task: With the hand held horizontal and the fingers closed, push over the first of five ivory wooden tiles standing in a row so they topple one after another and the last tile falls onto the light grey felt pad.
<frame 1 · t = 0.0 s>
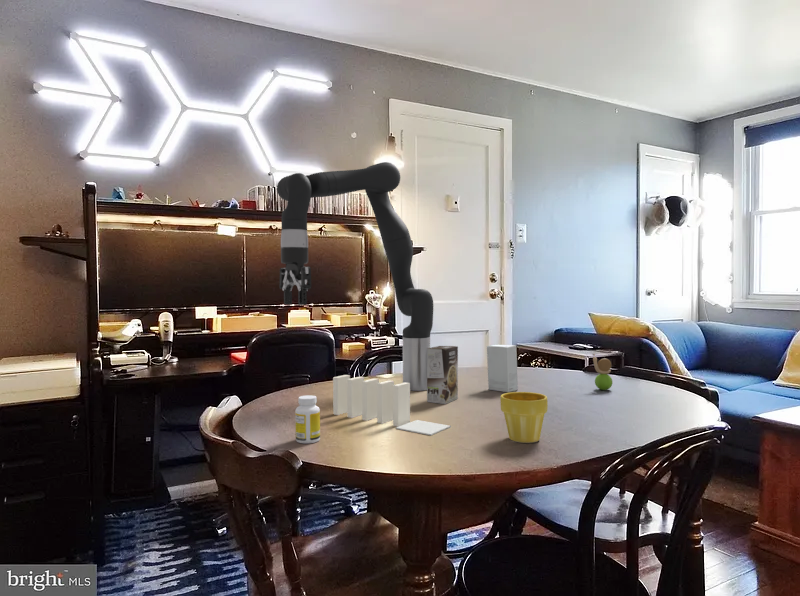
hand: (295, 304, 151), 29 cm above the table, tool pointing down, fingers open, 8 cm apart
snail figurine: (602, 390, 177), on the table
supplement bottle: (307, 441, 121), on the table
domino 5: (401, 424, 135), on the table
domino 4: (385, 421, 138), on the table
felt pad: (423, 427, 131), on the table
skincare box: (502, 390, 178), on the table
plant pot: (523, 439, 121), on the table
domino 3: (370, 418, 141), on the table
coffee box: (442, 401, 162), on the table
domino 2: (355, 415, 144), on the table
domino 1: (341, 413, 146), on the table
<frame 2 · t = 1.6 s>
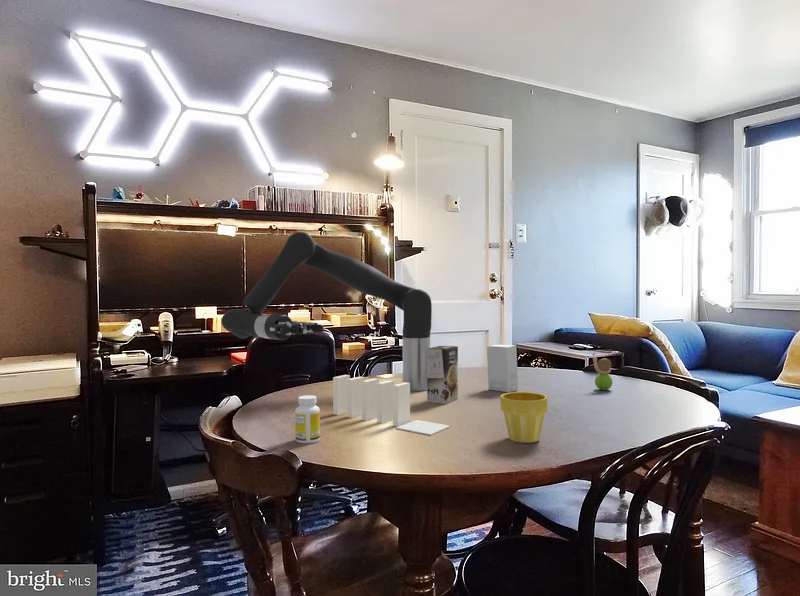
hand: (312, 329, 152), 22 cm above the table, tool horizontal, fingers open, 7 cm apart
nothing on the table moved.
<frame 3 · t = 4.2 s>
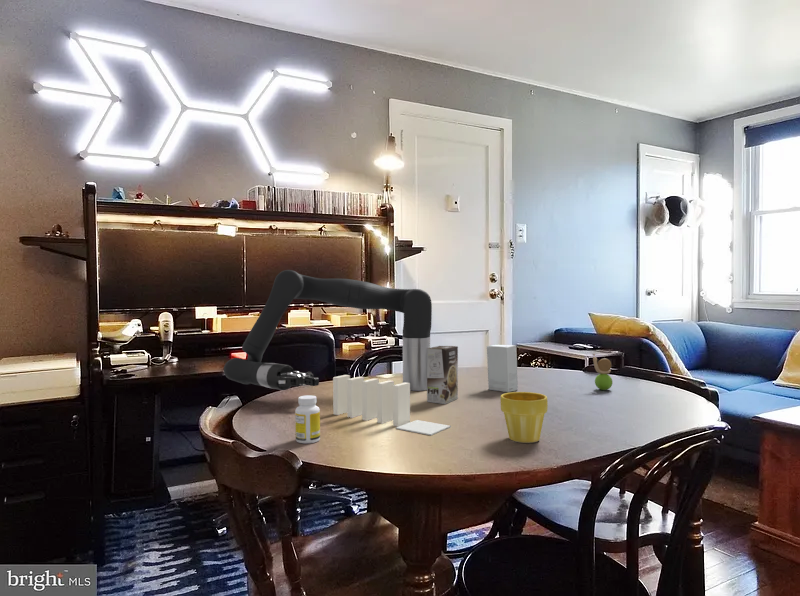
hand: (317, 382, 152), 7 cm above the table, tool horizontal, fingers closed
nothing on the table moved.
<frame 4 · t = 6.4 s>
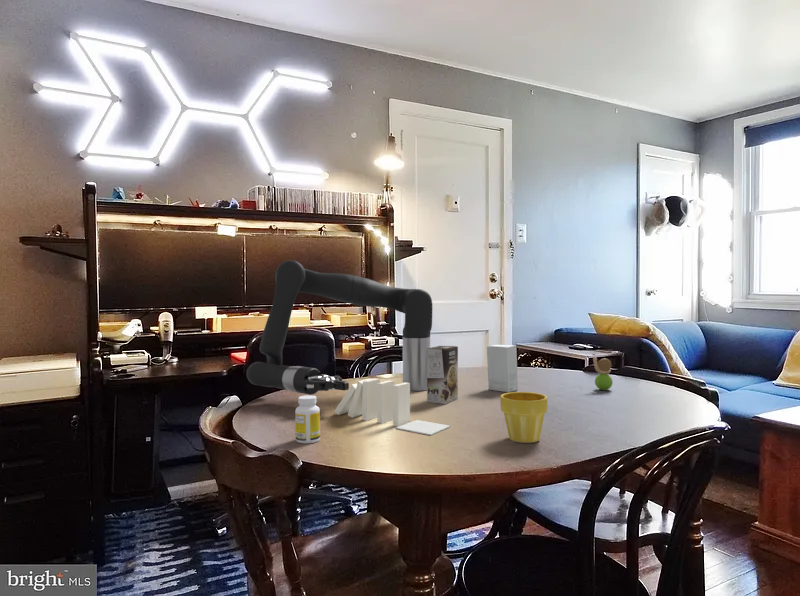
hand: (347, 386, 145), 7 cm above the table, tool horizontal, fingers closed
domino 2: (356, 414, 144), on the table, tilted 22°, touching domino 1
domino 1: (342, 411, 146), point 1 cm above the table, tilted 39°, touching domino 2
everything else where it was.
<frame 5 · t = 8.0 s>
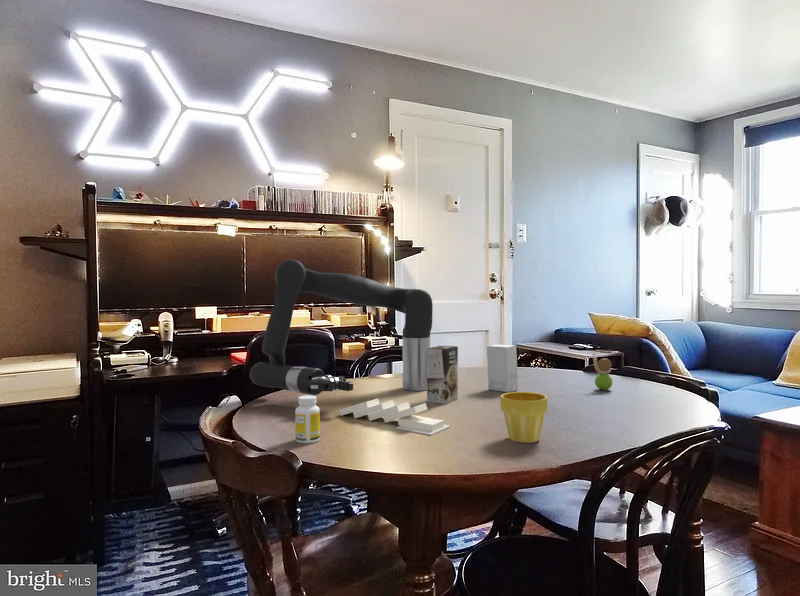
hand: (351, 386, 144), 8 cm above the table, tool horizontal, fingers closed
domino 5: (404, 419, 134), point 1 cm above the table, tilted 90°, touching domino 4, felt pad
domino 4: (390, 417, 137), point 1 cm above the table, tilted 68°, touching domino 3, domino 5
domino 3: (374, 416, 140), point 1 cm above the table, tilted 68°, touching domino 2, domino 4
domino 2: (360, 413, 143), point 1 cm above the table, tilted 69°, touching domino 1, domino 3
domino 1: (345, 411, 146), point 1 cm above the table, tilted 70°, touching domino 2
everything else where it was.
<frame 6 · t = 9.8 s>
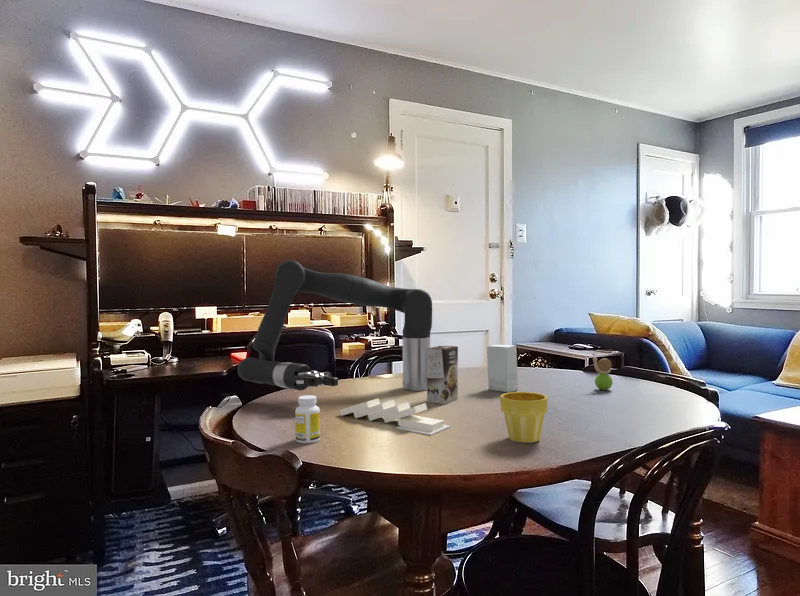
hand: (336, 382, 147), 8 cm above the table, tool horizontal, fingers closed
nothing on the table moved.
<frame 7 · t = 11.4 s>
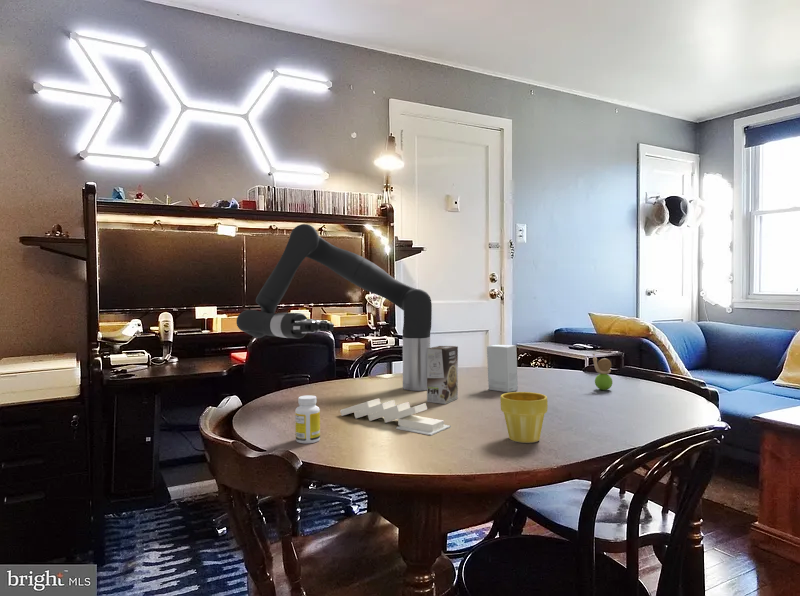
hand: (331, 327, 151), 23 cm above the table, tool horizontal, fingers closed
nothing on the table moved.
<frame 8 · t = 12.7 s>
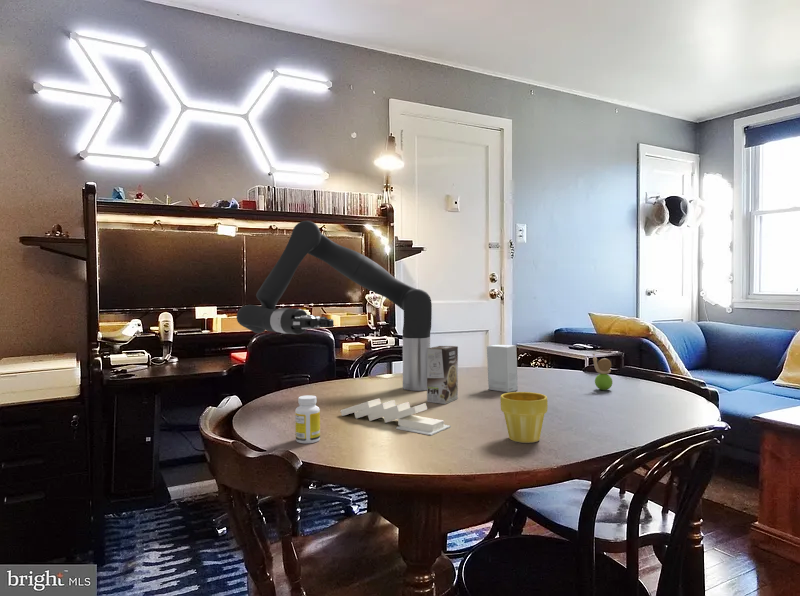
hand: (331, 323, 151), 24 cm above the table, tool horizontal, fingers closed
nothing on the table moved.
at the end: domino 5 tilted 90°; domino 1 tilted 70°; domino 5 5.8 cm from the felt pad (horizontally) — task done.
